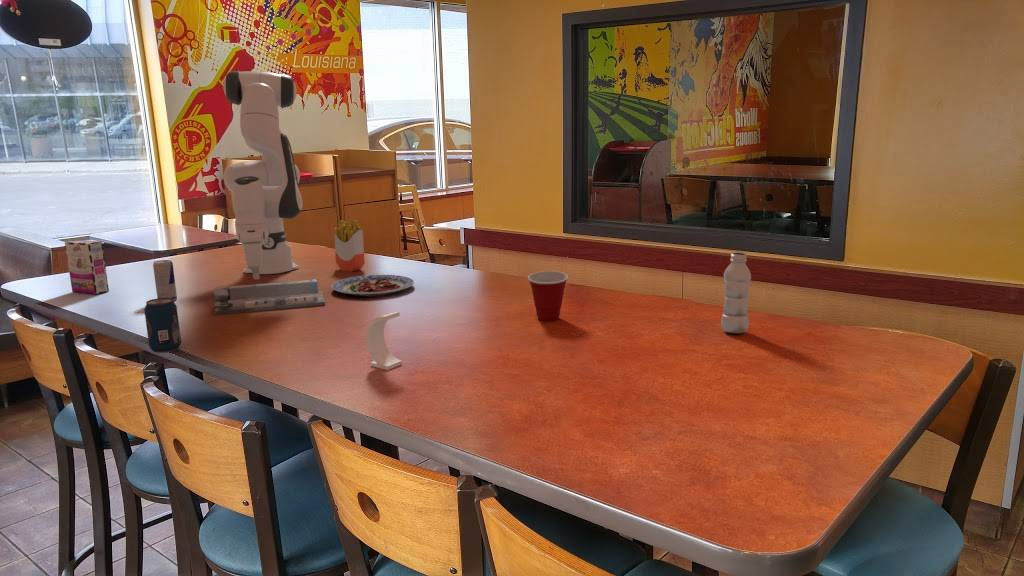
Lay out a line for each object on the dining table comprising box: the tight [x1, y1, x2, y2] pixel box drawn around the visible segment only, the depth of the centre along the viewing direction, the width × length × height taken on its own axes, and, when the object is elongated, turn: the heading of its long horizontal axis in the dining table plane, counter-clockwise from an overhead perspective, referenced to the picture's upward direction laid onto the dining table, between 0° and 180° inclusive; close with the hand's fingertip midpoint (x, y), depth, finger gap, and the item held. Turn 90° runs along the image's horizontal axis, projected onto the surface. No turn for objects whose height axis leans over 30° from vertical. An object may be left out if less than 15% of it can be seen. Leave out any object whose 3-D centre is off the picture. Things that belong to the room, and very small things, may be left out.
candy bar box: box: [64, 239, 110, 295], centre depth 229 cm, size 11×5×16 cm, turn 68°
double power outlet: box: [214, 290, 326, 315], centre depth 212 cm, size 14×30×2 cm, turn 108°
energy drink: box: [152, 259, 178, 302], centre depth 217 cm, size 5×5×12 cm
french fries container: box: [333, 218, 365, 273], centre depth 257 cm, size 5×11×18 cm, turn 52°
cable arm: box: [213, 279, 319, 303], centre depth 211 cm, size 4×29×4 cm, turn 108°
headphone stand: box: [365, 311, 403, 371], centre depth 158 cm, size 5×6×12 cm
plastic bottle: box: [720, 251, 752, 335], centre depth 177 cm, size 6×7×20 cm
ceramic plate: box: [331, 274, 415, 297], centre depth 229 cm, size 26×26×3 cm
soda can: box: [143, 298, 182, 354], centre depth 171 cm, size 7×7×12 cm
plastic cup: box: [527, 270, 569, 322], centre depth 193 cm, size 11×11×12 cm
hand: (256, 278), depth 216 cm, fingers closed
